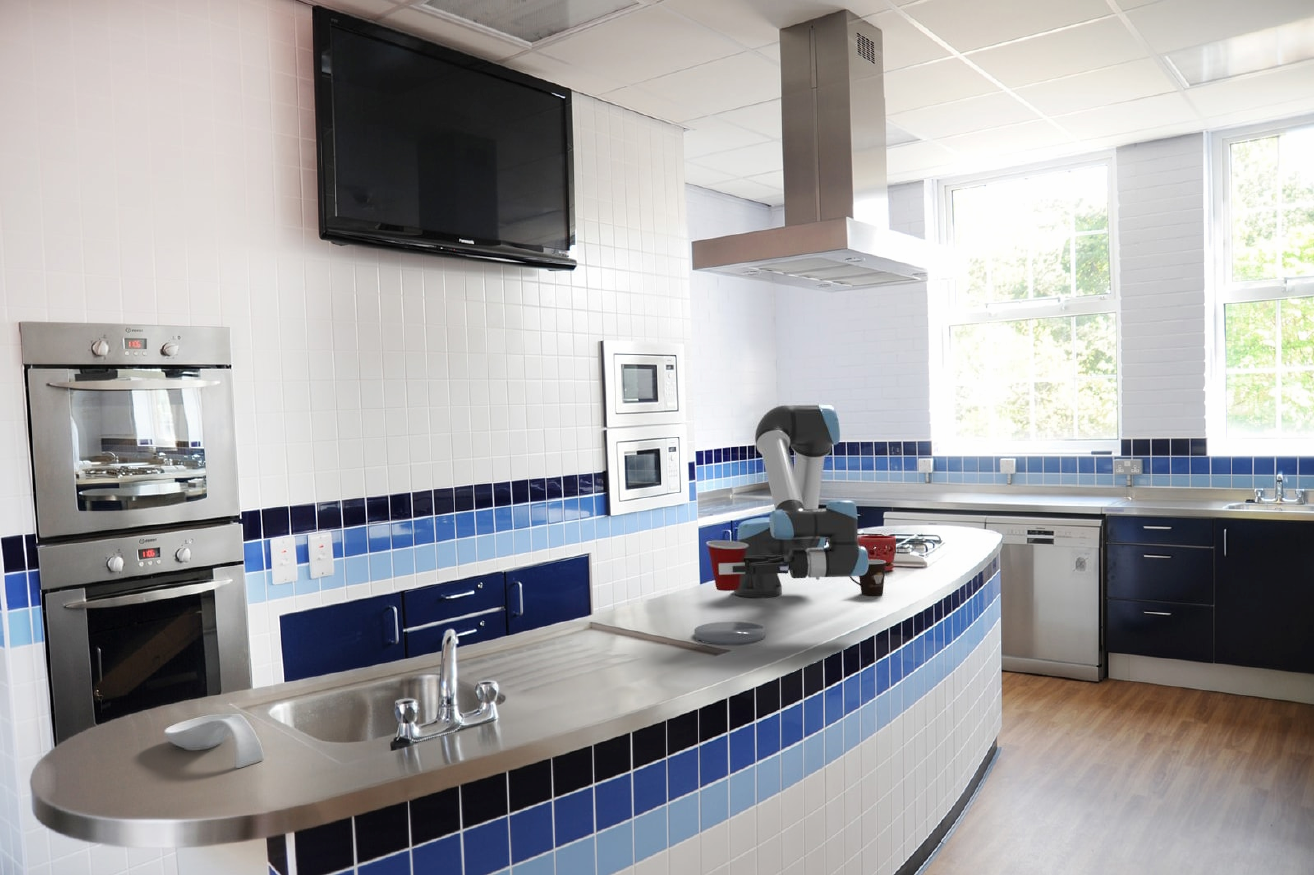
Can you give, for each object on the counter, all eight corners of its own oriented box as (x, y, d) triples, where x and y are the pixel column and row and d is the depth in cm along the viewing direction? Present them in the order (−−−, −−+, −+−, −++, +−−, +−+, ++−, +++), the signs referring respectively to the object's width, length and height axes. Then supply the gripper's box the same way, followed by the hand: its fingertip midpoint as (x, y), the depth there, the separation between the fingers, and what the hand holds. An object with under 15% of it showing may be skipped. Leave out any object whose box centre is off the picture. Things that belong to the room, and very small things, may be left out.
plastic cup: (747, 593, 222) (746, 545, 222) (704, 592, 224) (702, 545, 224) (752, 585, 233) (750, 539, 232) (710, 584, 235) (709, 539, 235)
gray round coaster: (685, 631, 234) (684, 625, 234) (748, 624, 239) (748, 619, 239) (708, 647, 217) (708, 641, 217) (776, 640, 222) (776, 634, 222)
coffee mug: (884, 591, 279) (883, 559, 279) (888, 596, 271) (887, 563, 271) (846, 591, 281) (845, 559, 280) (849, 597, 272) (848, 564, 272)
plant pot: (903, 571, 313) (903, 537, 313) (870, 574, 309) (869, 539, 309) (884, 565, 325) (883, 532, 325) (851, 568, 322) (851, 535, 322)
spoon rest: (152, 748, 160) (151, 708, 159) (218, 728, 169) (217, 691, 169) (218, 778, 145) (216, 734, 145) (286, 755, 154) (284, 714, 154)
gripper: (815, 585, 218) (722, 588, 217) (798, 570, 239) (713, 573, 238) (814, 554, 218) (721, 557, 217) (798, 542, 239) (712, 545, 238)
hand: (717, 566), depth 228 cm, fingers closed on plastic cup, 8 cm apart
